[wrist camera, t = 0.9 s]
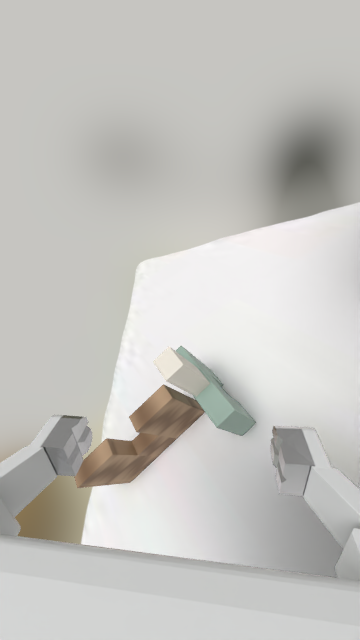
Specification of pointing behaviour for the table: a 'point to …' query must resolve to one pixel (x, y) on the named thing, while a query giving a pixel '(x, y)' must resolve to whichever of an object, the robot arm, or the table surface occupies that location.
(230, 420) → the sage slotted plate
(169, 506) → the table surface
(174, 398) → the walnut slotted board
